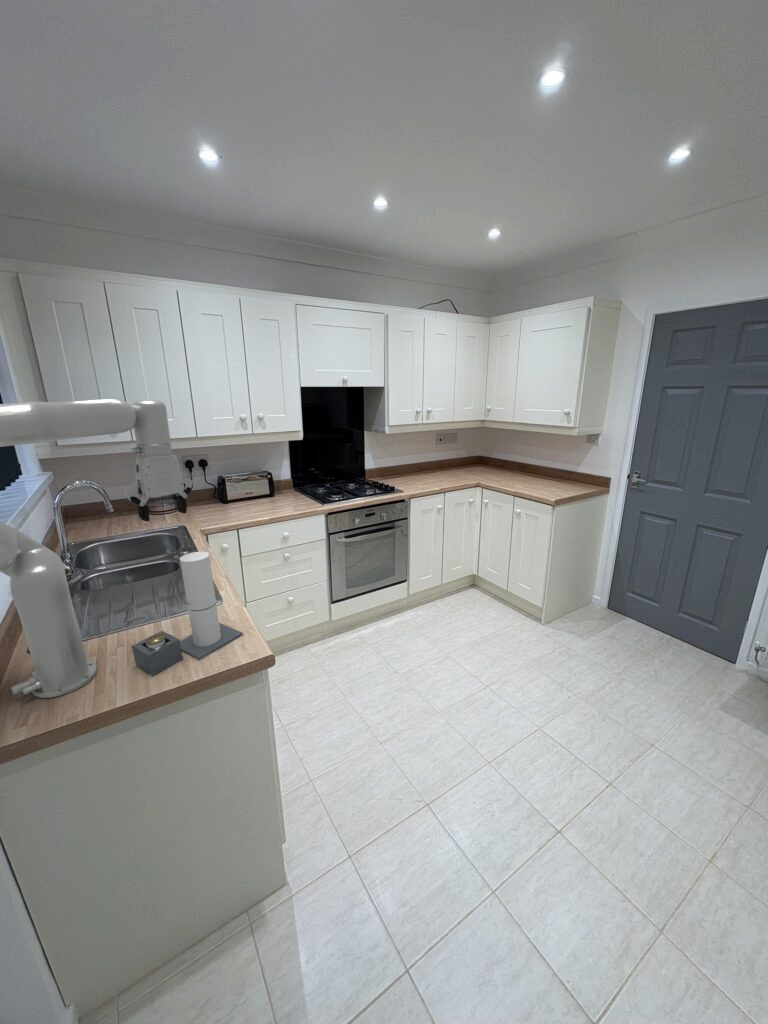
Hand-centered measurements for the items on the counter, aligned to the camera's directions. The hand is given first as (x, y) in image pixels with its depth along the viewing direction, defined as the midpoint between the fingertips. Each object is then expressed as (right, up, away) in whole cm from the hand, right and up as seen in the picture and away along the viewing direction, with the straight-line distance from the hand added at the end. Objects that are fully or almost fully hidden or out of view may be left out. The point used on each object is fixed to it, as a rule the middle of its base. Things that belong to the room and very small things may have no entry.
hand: (164, 516), depth 106 cm
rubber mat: (+8, -35, +8) cm, 37 cm away
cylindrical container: (+8, -35, +8) cm, 37 cm away
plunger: (-1, -36, -2) cm, 37 cm away
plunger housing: (-1, -38, -1) cm, 38 cm away
